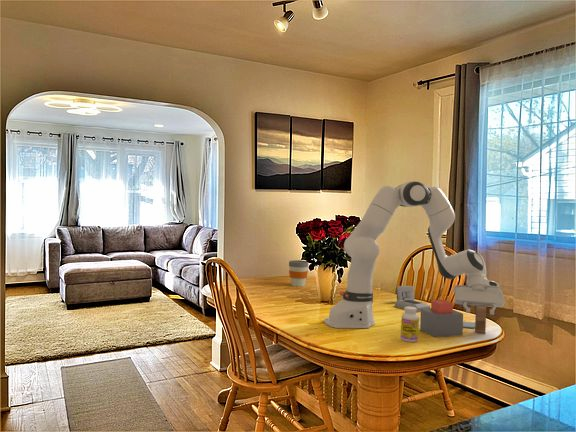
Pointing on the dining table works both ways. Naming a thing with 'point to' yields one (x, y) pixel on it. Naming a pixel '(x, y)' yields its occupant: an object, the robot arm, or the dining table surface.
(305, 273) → the reusable coffee cup
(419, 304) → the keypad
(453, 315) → the gray socket block
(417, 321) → the supplement bottle
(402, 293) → the electrical switch
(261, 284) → the dining table surface
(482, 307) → the brown wooden block
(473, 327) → the pad
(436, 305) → the button
